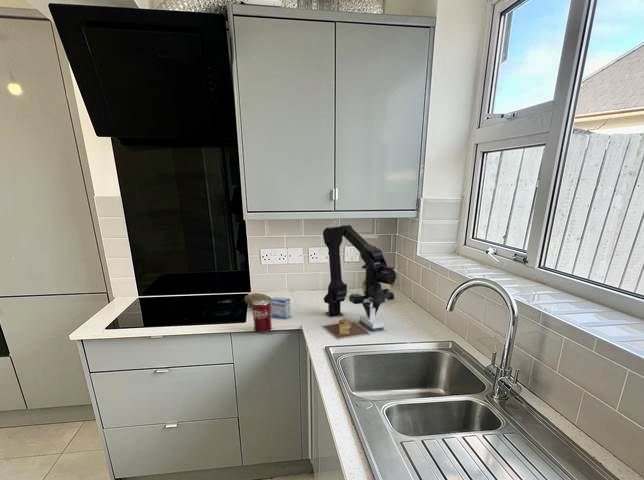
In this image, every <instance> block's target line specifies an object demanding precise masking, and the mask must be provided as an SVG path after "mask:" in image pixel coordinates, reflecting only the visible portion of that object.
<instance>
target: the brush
mask: <svg viewBox="0 0 644 480" xmlns="http://www.w3.org/2000/svg"><path fill="white" fill-rule="evenodd" d="M358 321H359V322H358V323H360V324H361V325H362V326H364V327H365V328H367V329H368V330H370V331H371V332H378V331H379V332H380V331H384V325H385V324H384V321H382V320H380V319H378V318H377V317H376V315H375V308H374V307H373V306H370V316H369V317H367V314H366V313H365V314H360V315H359V318H358Z"/></svg>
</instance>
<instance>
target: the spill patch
mask: <svg viewBox="0 0 644 480" xmlns="http://www.w3.org/2000/svg"><path fill="white" fill-rule="evenodd" d="M323 328H324V329H326V330H327V331H328V332H329V333H331V334H332V335H333V336H334V337H336V338H337V339H342V338H348V337H355V336H361V335H369V334H370V333H369V332H368V331H366V330H365V329H363V328H362V327H361V326H359V325H358V324H356V323H355V322H353V321H352V322H351V328H349V334H340V333H339V327H338V323H336V324H328V325H323Z"/></svg>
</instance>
